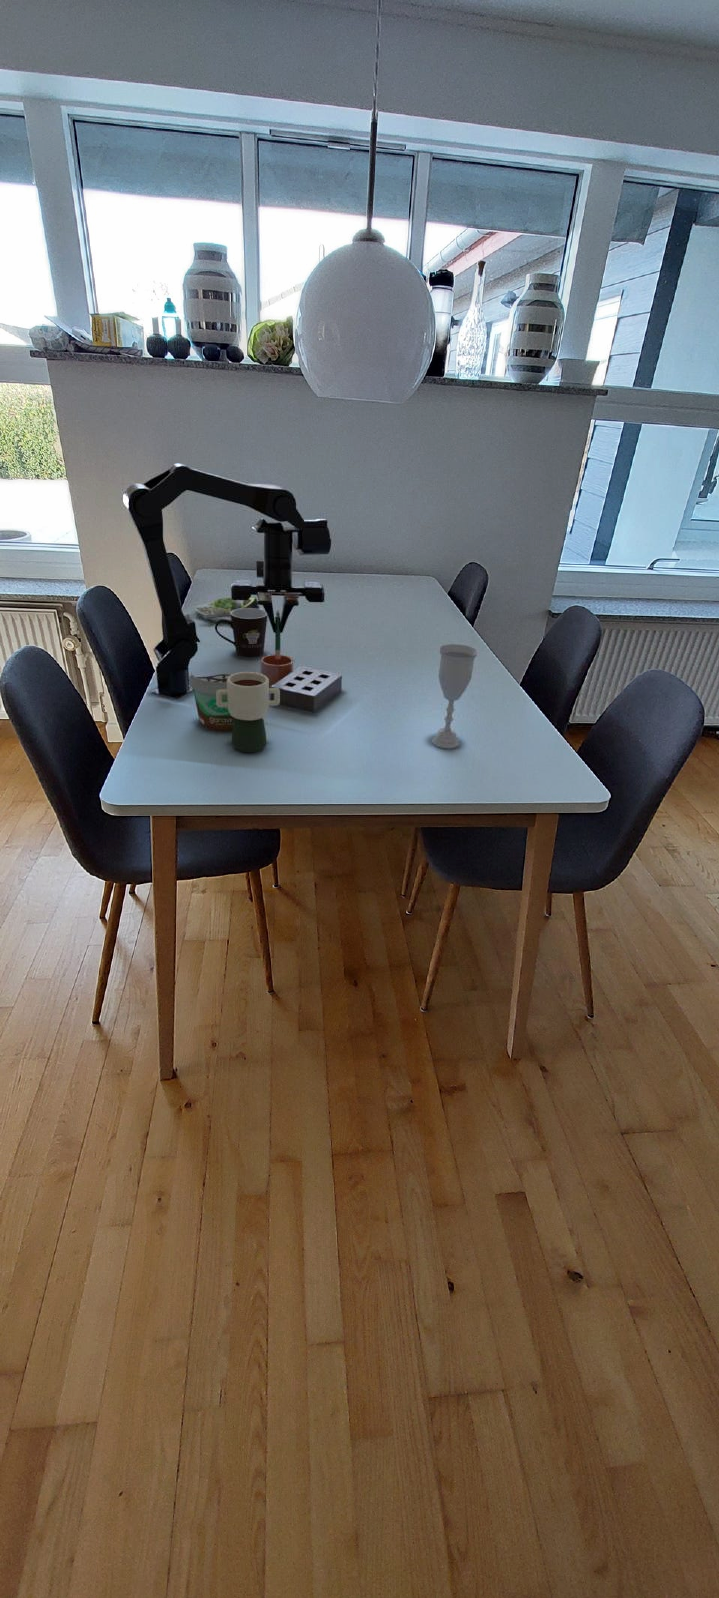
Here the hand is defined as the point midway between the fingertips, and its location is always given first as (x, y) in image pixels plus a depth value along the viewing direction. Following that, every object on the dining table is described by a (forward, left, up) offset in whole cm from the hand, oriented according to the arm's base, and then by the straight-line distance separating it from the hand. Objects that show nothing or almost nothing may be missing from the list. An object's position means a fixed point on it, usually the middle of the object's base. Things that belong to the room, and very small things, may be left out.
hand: (277, 632), depth 145 cm
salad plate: (+38, +35, -12) cm, 53 cm away
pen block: (-4, -9, -11) cm, 15 cm away
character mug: (-30, -10, -12) cm, 34 cm away
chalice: (-10, -41, -12) cm, 44 cm away
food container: (-25, -2, -12) cm, 28 cm away
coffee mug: (+12, +16, -12) cm, 23 cm away
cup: (0, 0, -11) cm, 11 cm away
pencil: (0, 0, -6) cm, 6 cm away
